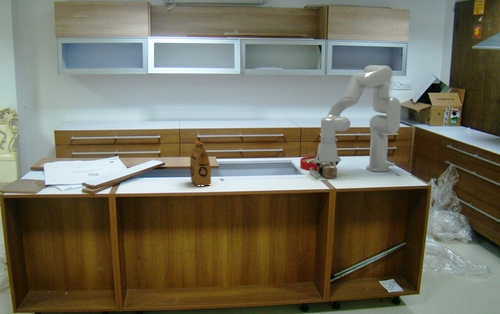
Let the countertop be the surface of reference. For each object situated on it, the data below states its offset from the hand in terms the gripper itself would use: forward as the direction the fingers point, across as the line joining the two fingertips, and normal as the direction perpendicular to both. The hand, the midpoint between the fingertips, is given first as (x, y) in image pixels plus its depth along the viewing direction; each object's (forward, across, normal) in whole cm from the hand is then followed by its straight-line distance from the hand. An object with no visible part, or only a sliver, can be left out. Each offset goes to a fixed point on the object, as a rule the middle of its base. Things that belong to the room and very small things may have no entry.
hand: (326, 173), depth 249 cm
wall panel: (+2, -2, 0) cm, 3 cm away
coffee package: (+2, +68, -1) cm, 68 cm away
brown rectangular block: (0, 0, 0) cm, 0 cm away
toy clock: (+3, -1, -20) cm, 20 cm away
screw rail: (+1, +7, 0) cm, 7 cm away
